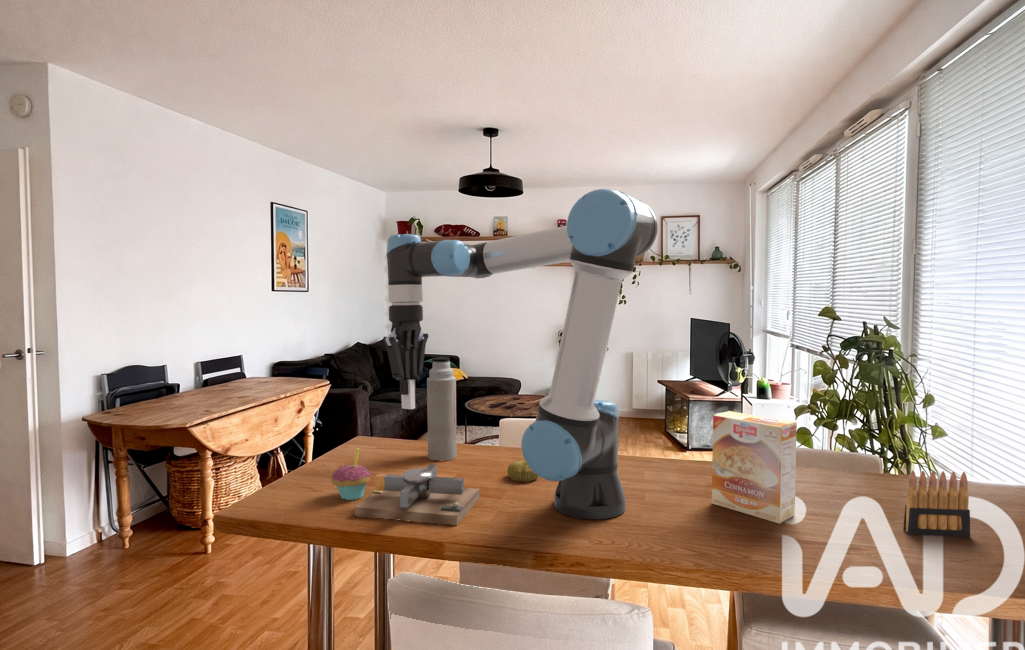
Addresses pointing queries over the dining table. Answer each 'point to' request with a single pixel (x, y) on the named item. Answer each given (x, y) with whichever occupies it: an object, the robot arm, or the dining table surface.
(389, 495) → the stand
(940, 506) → the ammunition clip
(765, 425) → the coffeecake box
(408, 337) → the robot arm
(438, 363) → the thermos bottle
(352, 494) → the cupcake
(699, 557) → the dining table surface
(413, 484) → the capstan
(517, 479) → the sculpture
